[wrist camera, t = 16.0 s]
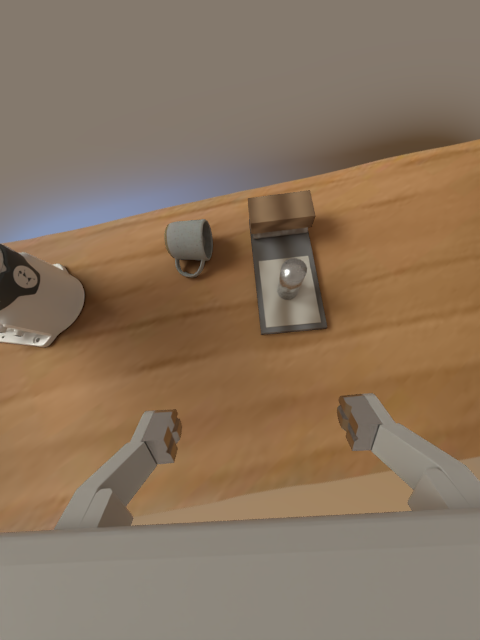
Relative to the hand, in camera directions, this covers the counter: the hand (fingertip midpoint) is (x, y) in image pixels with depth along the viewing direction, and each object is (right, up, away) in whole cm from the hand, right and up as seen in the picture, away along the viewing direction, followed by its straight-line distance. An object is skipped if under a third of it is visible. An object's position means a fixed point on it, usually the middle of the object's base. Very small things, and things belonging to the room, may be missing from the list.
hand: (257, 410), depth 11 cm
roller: (+8, +10, +31) cm, 33 cm away
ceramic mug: (-11, +18, +36) cm, 42 cm away
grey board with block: (+8, +15, +33) cm, 37 cm away
